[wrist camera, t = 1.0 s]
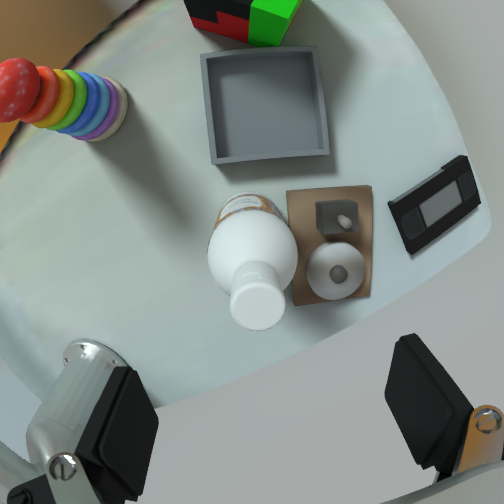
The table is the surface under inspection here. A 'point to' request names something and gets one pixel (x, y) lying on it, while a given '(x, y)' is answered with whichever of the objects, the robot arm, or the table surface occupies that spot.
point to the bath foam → (253, 259)
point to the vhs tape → (435, 204)
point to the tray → (264, 103)
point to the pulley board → (316, 237)
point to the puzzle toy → (245, 19)
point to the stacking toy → (61, 100)
